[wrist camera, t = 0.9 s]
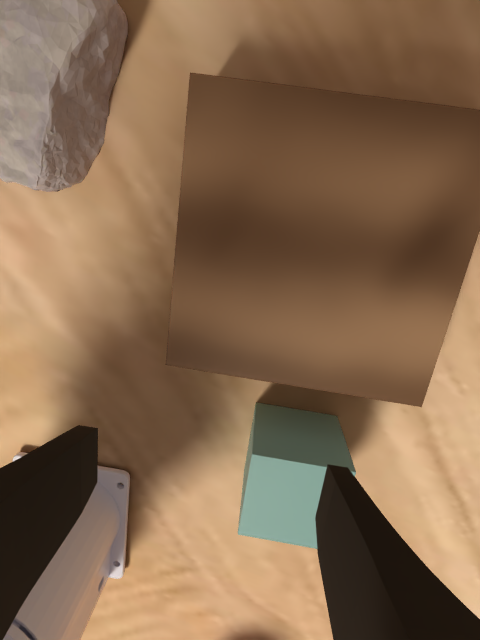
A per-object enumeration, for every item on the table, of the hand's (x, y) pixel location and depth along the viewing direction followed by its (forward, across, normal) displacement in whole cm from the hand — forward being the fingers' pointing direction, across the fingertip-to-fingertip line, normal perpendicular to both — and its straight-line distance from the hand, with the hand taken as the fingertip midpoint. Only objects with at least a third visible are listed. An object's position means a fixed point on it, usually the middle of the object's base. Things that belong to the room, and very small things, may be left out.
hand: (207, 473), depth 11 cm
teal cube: (+10, -4, +6) cm, 13 cm away
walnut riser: (+10, -3, -6) cm, 12 cm away
